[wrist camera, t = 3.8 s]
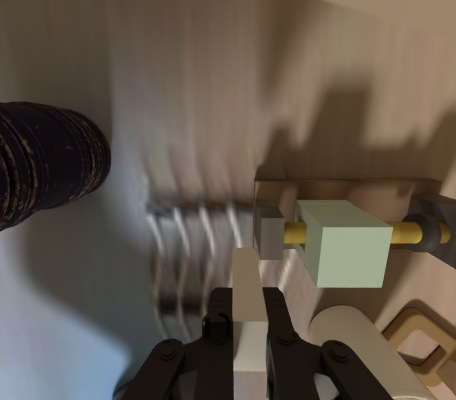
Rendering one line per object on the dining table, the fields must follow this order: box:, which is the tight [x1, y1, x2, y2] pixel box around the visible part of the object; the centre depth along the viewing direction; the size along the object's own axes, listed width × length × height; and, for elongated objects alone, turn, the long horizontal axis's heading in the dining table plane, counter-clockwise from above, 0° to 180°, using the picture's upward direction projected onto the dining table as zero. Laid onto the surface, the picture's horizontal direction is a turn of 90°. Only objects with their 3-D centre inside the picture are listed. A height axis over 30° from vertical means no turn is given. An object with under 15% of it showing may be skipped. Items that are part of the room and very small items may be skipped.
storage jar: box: [0, 102, 111, 231], centre depth 20 cm, size 10×10×15 cm
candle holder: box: [309, 305, 437, 400], centre depth 27 cm, size 10×10×12 cm
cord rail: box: [253, 179, 456, 269], centre depth 24 cm, size 20×8×8 cm, turn 90°
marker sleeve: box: [293, 200, 393, 288], centre depth 21 cm, size 5×5×7 cm
